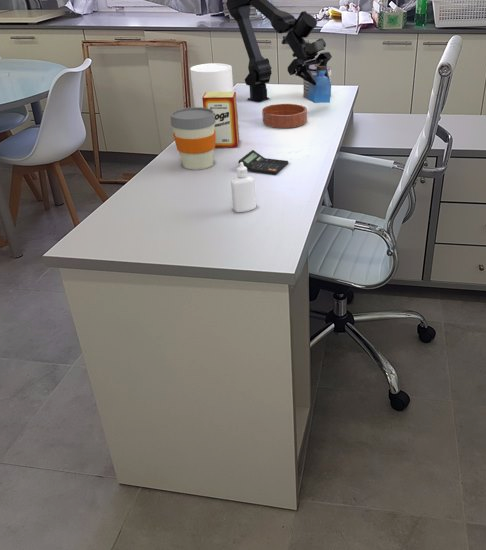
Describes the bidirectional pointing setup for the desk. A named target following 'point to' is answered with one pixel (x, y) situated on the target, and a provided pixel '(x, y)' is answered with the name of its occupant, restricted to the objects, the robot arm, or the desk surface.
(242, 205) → the eye dropper bottle
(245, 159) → the calculator
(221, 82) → the canister
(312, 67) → the can
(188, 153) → the reusable coffee cup
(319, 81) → the perfume bottle
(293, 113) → the bowl
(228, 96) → the baking soda box
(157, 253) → the desk surface
